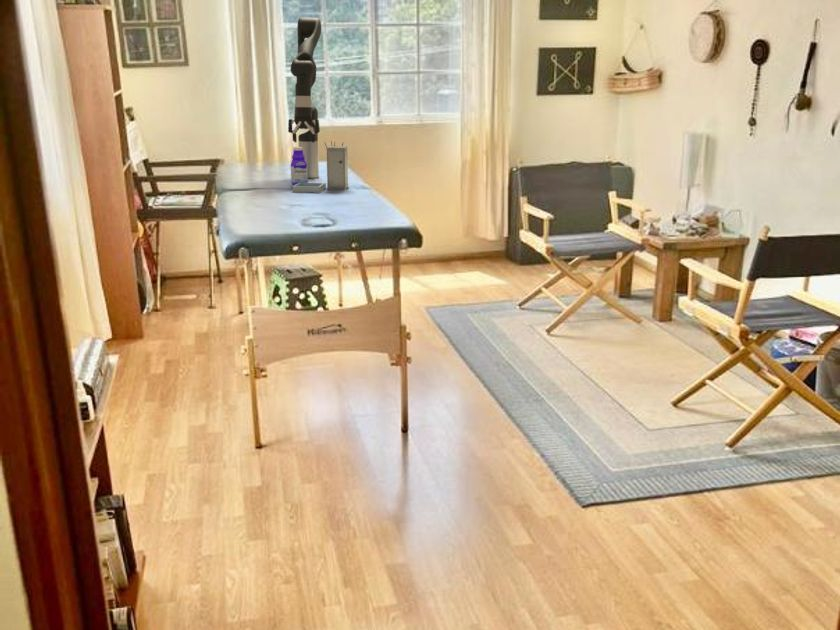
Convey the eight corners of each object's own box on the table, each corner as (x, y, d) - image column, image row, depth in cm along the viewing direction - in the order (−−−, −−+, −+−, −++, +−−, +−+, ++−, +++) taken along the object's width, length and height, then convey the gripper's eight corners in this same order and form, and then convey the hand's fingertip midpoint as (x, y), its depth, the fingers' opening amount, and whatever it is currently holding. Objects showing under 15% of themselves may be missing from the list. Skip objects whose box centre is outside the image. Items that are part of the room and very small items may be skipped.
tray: (299, 188, 357) (298, 182, 356) (325, 188, 356) (325, 183, 355) (292, 192, 346) (292, 186, 345) (319, 192, 345) (319, 187, 344)
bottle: (294, 187, 358) (292, 148, 353) (289, 186, 363) (288, 146, 358) (309, 186, 361) (308, 147, 356) (305, 185, 366) (303, 146, 361)
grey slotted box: (330, 187, 361) (329, 146, 356) (348, 187, 360) (347, 146, 355) (327, 189, 354) (326, 147, 349) (345, 189, 353) (344, 148, 348)
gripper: (320, 106, 372) (321, 142, 376) (290, 106, 374) (291, 141, 378) (316, 106, 365) (317, 143, 369) (286, 106, 366) (287, 142, 370)
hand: (304, 142), depth 373 cm, fingers open, 8 cm apart
